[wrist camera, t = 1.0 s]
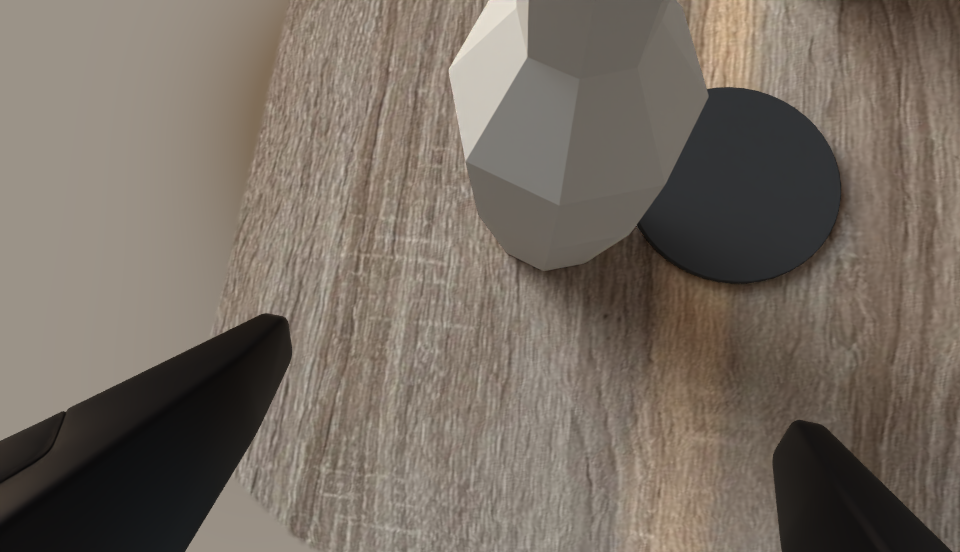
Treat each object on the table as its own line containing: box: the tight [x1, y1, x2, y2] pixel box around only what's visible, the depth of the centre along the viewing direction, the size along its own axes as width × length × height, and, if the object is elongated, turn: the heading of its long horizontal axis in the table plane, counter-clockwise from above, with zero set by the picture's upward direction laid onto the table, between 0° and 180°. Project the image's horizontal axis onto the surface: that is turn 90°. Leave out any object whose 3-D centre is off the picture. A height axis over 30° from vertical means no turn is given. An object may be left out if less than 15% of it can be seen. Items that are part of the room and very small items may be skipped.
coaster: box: [637, 87, 841, 284], centre depth 24 cm, size 9×9×1 cm
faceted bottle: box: [449, 0, 709, 271], centre depth 14 cm, size 6×6×22 cm
